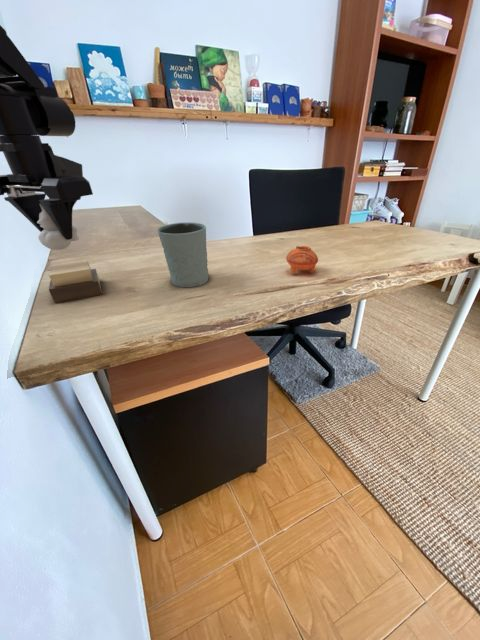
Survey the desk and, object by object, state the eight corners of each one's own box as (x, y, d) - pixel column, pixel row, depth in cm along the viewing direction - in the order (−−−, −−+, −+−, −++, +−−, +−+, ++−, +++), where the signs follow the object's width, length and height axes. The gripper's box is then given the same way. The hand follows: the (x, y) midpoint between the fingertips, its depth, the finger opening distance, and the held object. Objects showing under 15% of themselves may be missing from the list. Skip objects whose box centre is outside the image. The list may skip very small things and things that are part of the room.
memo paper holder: (102, 294, 64) (93, 269, 61) (54, 303, 60) (43, 277, 57) (99, 280, 70) (91, 257, 67) (56, 288, 67) (46, 264, 64)
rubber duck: (46, 247, 57) (27, 202, 53) (84, 243, 60) (68, 199, 55) (41, 255, 53) (20, 206, 49) (82, 250, 55) (65, 203, 51)
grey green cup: (209, 271, 75) (203, 221, 68) (214, 286, 67) (208, 230, 60) (168, 275, 73) (157, 224, 66) (168, 291, 65) (156, 234, 58)
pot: (278, 267, 76) (285, 240, 72) (305, 271, 78) (313, 245, 75) (289, 277, 69) (296, 247, 66) (318, 281, 72) (326, 253, 68)
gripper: (102, 135, 49) (128, 232, 58) (29, 137, 55) (62, 225, 64) (39, 134, 41) (80, 247, 50) (-40, 136, 47) (10, 237, 56)
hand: (59, 237), depth 55 cm, fingers closed on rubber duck, 5 cm apart
